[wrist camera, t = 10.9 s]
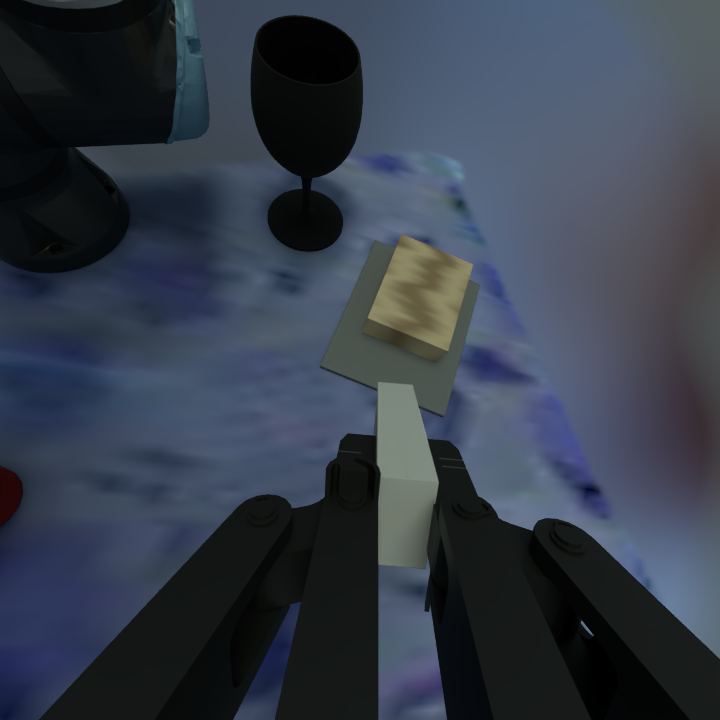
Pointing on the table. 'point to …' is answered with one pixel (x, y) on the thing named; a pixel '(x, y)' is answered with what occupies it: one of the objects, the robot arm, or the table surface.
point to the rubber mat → (386, 361)
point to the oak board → (419, 299)
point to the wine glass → (306, 118)
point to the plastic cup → (9, 493)
